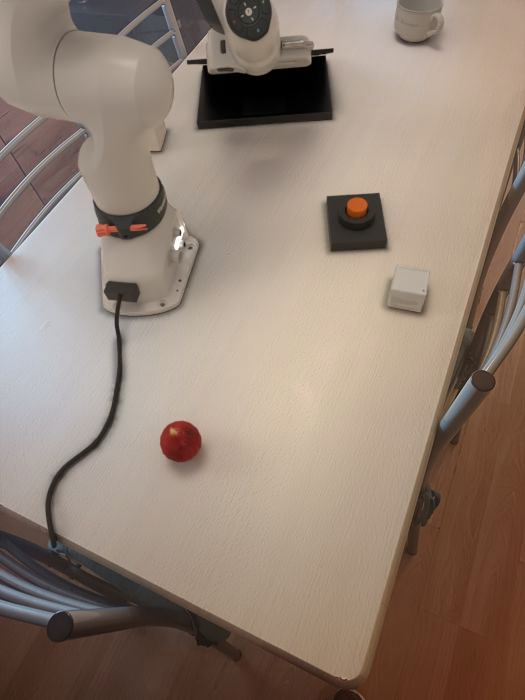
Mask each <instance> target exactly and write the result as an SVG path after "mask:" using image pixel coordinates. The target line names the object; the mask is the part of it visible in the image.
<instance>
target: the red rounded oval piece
mask: <svg viewBox="0 0 525 700" xmlns="http://www.w3.org/2000/svg"><path fill="white" fill-rule="evenodd" d="M159 446H160V449H161V452H162V454H163V455H164V456H165V458H166V459H167V460H170V461H173V462H174V463H186V462H189V461H191V460H193V459H194V458H195V457H196V456H197V455H198V454H199V452H200V450H201V448H202V436H201V432H200V431H199V429H198V428H197V426H195V425H194V424H192V422H189V421H185V420H176V421H173V422H170V423H168V424H167V425H166V426H165V427H164V429H163V430H162V432H161V434H160V437H159Z"/></svg>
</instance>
